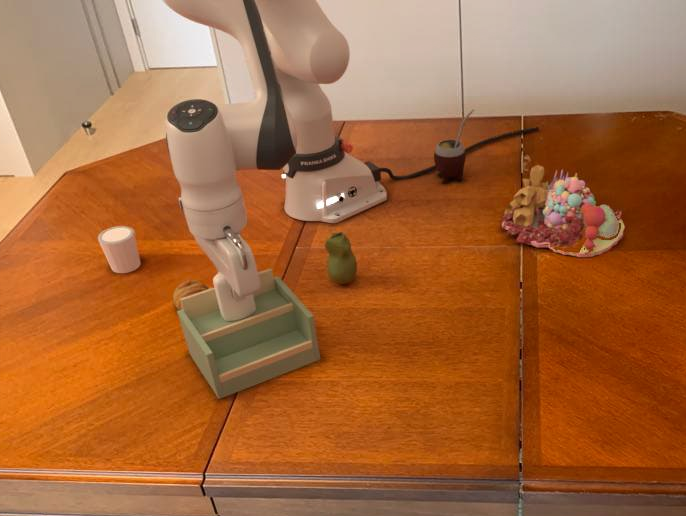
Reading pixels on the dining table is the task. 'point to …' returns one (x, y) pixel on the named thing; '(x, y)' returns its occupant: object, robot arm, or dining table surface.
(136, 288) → the dining table surface
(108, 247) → the white short cylinder
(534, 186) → the pastel sphere sculpture
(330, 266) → the pear
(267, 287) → the spice rack
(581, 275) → the dining table surface
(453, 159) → the mate gourd
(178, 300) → the pastry
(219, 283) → the eye dropper bottle
